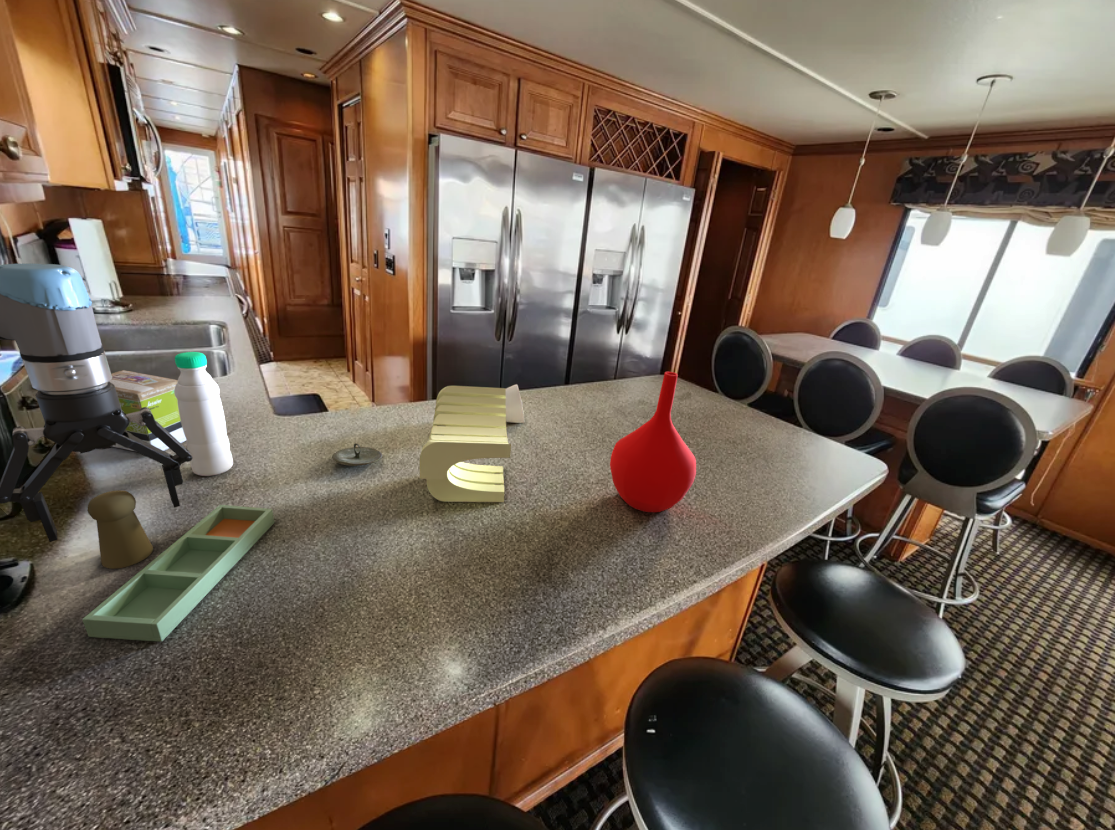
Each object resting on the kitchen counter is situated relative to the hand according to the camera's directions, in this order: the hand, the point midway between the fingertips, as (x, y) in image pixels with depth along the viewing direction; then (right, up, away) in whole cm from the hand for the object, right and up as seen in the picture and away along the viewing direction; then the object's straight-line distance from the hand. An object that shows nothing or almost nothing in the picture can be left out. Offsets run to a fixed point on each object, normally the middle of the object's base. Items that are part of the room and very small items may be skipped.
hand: (118, 518), depth 69 cm
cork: (-1, -7, +3) cm, 7 cm away
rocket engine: (+47, +14, +67) cm, 83 cm away
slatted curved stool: (+46, 0, +32) cm, 56 cm away
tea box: (-27, +10, +35) cm, 45 cm away
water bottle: (-6, +4, +27) cm, 28 cm away
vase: (+86, -4, +34) cm, 93 cm away
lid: (+21, +5, +36) cm, 42 cm away
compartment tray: (+11, -8, +1) cm, 14 cm away
